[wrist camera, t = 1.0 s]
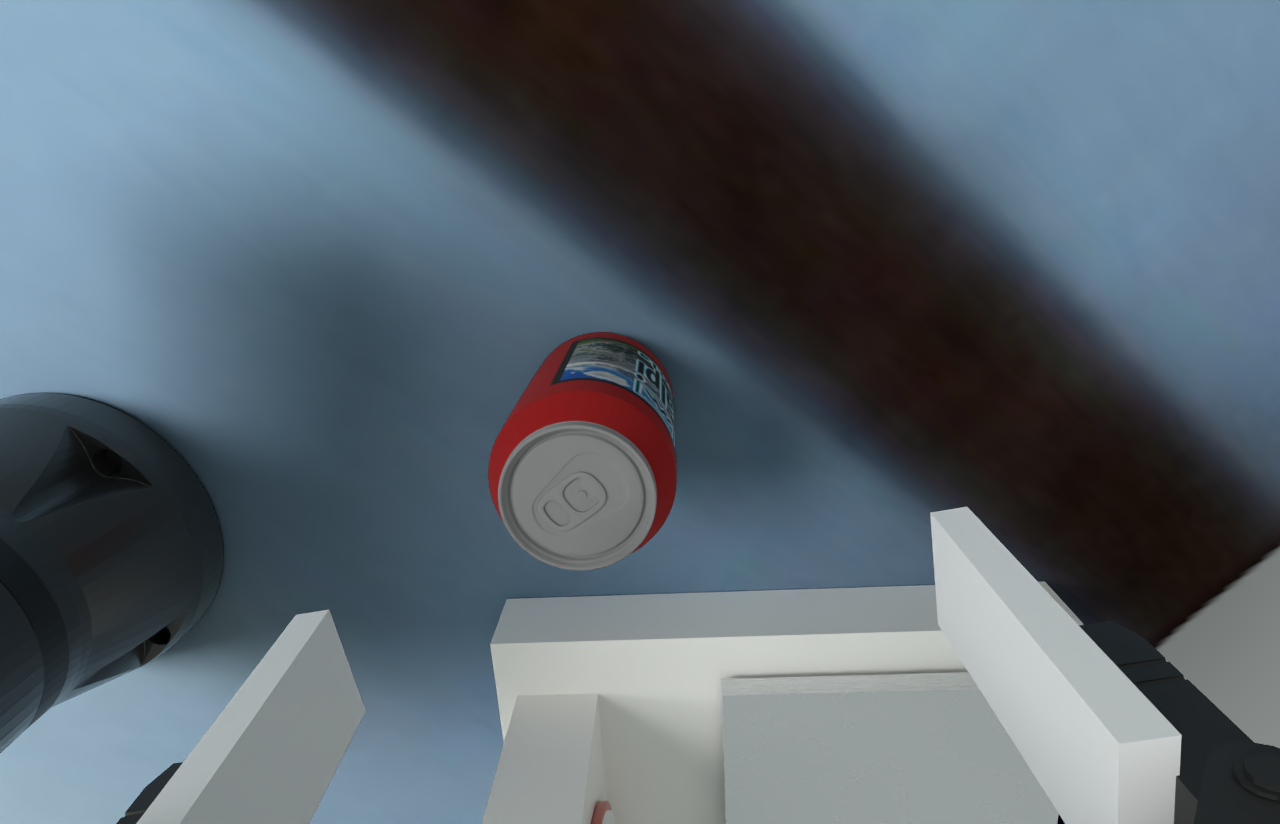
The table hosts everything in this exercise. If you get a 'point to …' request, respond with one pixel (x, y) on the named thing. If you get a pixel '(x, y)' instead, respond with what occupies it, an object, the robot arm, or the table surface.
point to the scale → (672, 688)
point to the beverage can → (588, 454)
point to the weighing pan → (872, 753)
